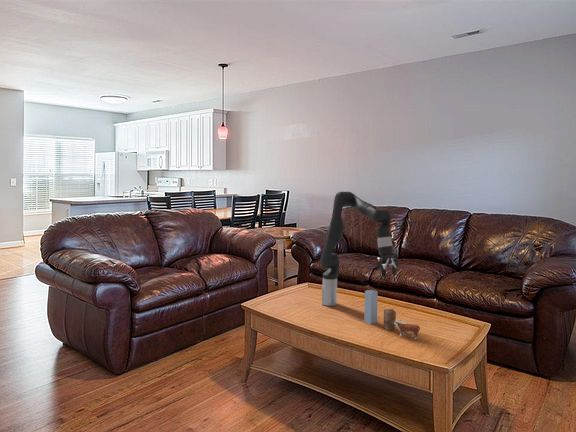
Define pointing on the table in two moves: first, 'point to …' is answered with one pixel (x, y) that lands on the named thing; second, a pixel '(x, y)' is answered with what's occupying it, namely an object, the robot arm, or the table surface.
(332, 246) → the robot arm
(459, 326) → the table surface
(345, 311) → the table surface
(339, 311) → the table surface
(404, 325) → the bull figurine
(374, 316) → the bluegrey block
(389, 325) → the walnut block
